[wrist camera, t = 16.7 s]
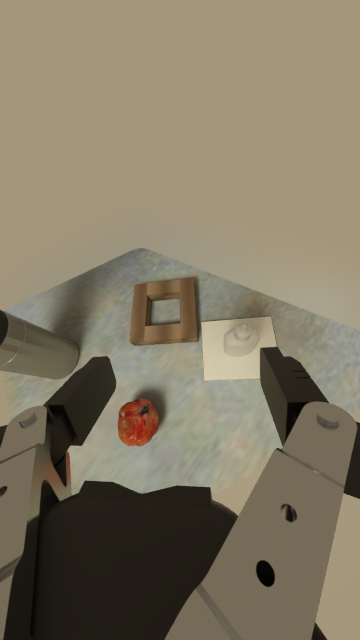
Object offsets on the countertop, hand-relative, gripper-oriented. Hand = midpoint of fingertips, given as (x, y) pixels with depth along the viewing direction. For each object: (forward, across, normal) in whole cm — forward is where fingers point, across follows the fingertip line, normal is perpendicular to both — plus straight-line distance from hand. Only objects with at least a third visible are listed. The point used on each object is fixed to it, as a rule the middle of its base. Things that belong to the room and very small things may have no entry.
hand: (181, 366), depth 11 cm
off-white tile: (+28, -6, +16) cm, 32 cm away
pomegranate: (+19, +13, +25) cm, 34 cm away
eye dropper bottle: (+27, -6, +15) cm, 32 cm away
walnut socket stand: (+34, +9, +9) cm, 37 cm away
